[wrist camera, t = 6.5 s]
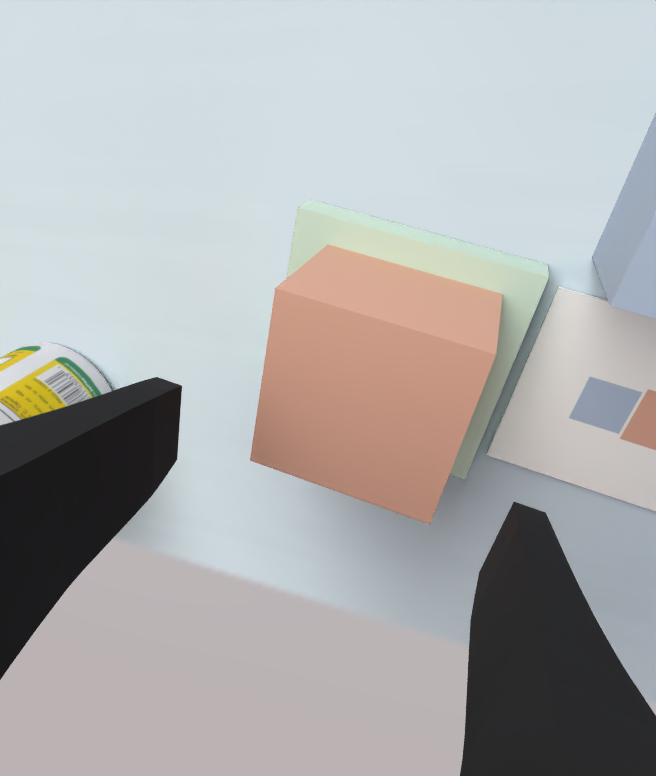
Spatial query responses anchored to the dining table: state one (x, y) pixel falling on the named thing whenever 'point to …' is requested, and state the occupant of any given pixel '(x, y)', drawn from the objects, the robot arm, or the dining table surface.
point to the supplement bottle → (45, 380)
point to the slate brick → (632, 238)
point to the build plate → (440, 258)
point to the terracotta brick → (373, 378)
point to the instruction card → (587, 401)
